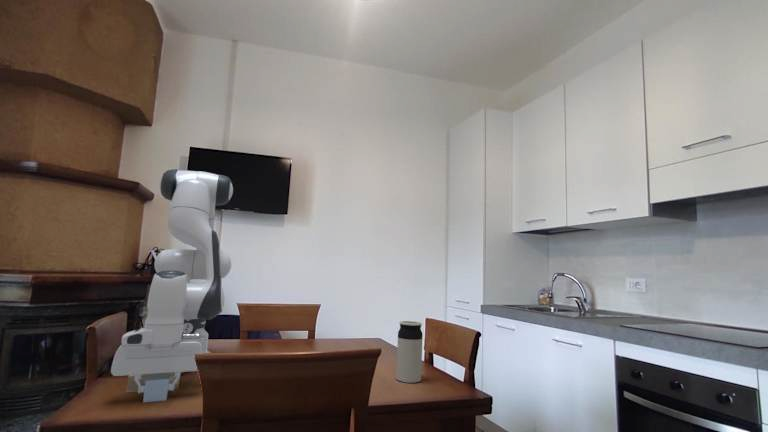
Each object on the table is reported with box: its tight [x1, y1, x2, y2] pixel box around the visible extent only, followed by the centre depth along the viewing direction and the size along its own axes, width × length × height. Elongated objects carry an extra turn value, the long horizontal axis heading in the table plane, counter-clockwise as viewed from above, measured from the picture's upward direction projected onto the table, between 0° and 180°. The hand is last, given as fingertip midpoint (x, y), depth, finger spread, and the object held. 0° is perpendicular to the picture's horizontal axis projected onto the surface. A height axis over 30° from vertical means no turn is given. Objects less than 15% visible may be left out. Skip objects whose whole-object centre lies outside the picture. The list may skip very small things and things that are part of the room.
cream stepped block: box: [126, 372, 181, 394], centre depth 110 cm, size 12×12×8 cm
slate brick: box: [142, 374, 170, 403], centre depth 98 cm, size 5×5×5 cm
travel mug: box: [395, 320, 424, 384], centre depth 127 cm, size 8×8×18 cm
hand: (156, 391), depth 98 cm, fingers closed on slate brick, 5 cm apart
